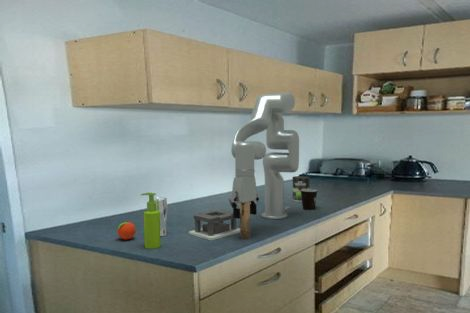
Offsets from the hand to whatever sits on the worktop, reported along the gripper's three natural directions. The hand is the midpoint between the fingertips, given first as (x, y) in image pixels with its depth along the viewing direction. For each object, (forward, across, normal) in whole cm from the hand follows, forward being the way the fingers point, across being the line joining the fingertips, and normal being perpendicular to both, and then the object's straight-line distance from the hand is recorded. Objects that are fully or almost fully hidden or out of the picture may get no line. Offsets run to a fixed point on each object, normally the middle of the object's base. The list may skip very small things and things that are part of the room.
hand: (245, 216), depth 154 cm
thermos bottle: (+8, 0, 0) cm, 8 cm away
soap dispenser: (+9, +33, -17) cm, 38 cm away
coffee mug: (+8, -61, -12) cm, 63 cm away
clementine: (+9, +35, -32) cm, 48 cm away
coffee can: (+8, -80, -29) cm, 86 cm away
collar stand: (+8, +4, -13) cm, 16 cm away
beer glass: (+9, +22, -28) cm, 37 cm away
